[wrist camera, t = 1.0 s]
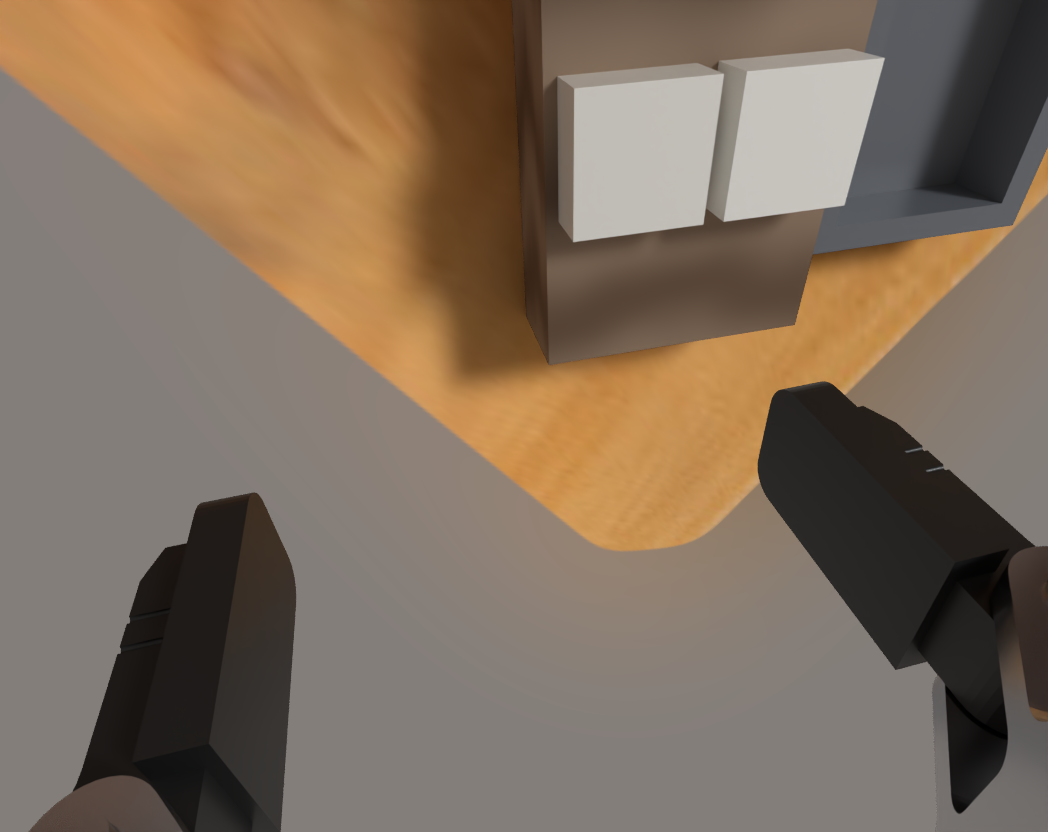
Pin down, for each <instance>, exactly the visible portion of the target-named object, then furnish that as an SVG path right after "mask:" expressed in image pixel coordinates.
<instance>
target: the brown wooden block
mask: <svg viewBox="0 0 1048 832" xmlns="http://www.w3.org/2000/svg"><path fill="white" fill-rule="evenodd" d="M877 1H878V0H512V15H513V37H514V59H515V80H516V102H517V124H518V146H519V168H520V190H521V212H522V233H523V255H524V277H525V299H526V317H527V319H528V321H529V323H530V326H531V328H532V330H533V332H534V334H535V336H536V338H537V341H538V343H539V345H540V347H541V349H542V351H543V353H544V355H545V358H546V360H547V362H548V364H549V365H553V364H559V363H565V362H571V361H577V360H583V359H589V358H595V357H602V356H608V355H614V354H620V353H626V352H632V351H638V350H644V349H650V348H656V347H663V346H669V345H675V344H681V343H687V342H693V341H699V340H705V339H711V338H717V337H723V336H730V335H736V334H742V333H748V332H754V331H760V330H766V329H772V328H778V327H784V326H791V325H795V322H796V318H797V314H798V310H799V306H800V302H801V298H802V294H803V290H804V287H805V283H806V279H807V275H808V271H809V267H810V263H811V259H812V255H813V251H814V247H815V243H816V240H817V236H818V232H819V228H820V224H821V220H822V216H823V212H824V208H822V209H815V210H807V211H800V212H793V213H785V214H778V215H770V216H763V217H756V218H748V219H741V220H733V221H726V222H723V221H722V220H720V219H719V218H718V217H717V216H715V215H714V214H713V213H712V212H710V211H709V210H708V209H707V208H706V209H705V216H704V224H703V225H696V226H689V227H682V228H674V229H667V230H659V231H652V232H645V233H637V234H630V235H623V236H615V237H608V238H600V239H593V240H586V241H578V242H573V241H572V240H571V238H570V237H569V235H568V234H567V233H566V231H565V230H564V229H563V227H562V226H561V224H560V223H559V210H558V97H557V76H564V75H575V74H586V73H596V72H607V71H617V70H628V69H638V68H649V67H659V66H670V65H680V64H691V63H699V64H701V65H704V66H706V67H709V68H711V69H714V70H716V71H718V63H719V61H723V60H733V59H744V58H754V57H765V56H775V55H786V54H796V53H807V52H818V51H828V50H839V49H852V50H856V51H860V52H865V48H866V44H867V40H868V36H869V32H870V28H871V24H872V20H873V16H874V12H875V9H876V5H877Z"/></svg>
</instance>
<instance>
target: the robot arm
mask: <svg viewBox="0 0 1048 832" xmlns="http://www.w3.org/2000/svg"><path fill="white" fill-rule="evenodd" d="M758 475H759V479H760V483H761V486H762V489H763V491H764V493H765V495H766V496H767V498H768V499H769V501H770V502H771V503H772V505H773V506H774V507H775V509H776V510H777V512H778V513H779V514H780V516H781V517H782V518H783V520H784V521H785V522H786V524H787V525H788V526H789V528H790V529H791V530H792V531H793V533H794V534H795V535H796V537H797V538H798V540H799V541H800V542H801V544H802V545H803V546H804V548H805V549H806V550H807V552H808V553H809V554H810V556H811V557H812V558H813V560H814V561H815V562H816V564H817V565H818V566H819V568H820V569H821V570H822V572H823V573H824V574H825V576H826V577H827V578H828V580H829V581H830V583H831V584H832V585H833V586H834V588H835V589H836V591H837V592H838V593H839V595H840V596H841V597H842V599H843V600H844V601H845V603H846V604H847V605H848V607H849V608H850V609H851V611H852V612H853V613H854V615H855V616H856V617H857V619H858V620H859V621H860V623H861V624H862V625H863V627H864V628H865V629H866V631H867V632H868V633H869V635H870V636H871V638H872V639H873V640H874V642H875V643H876V644H877V645H878V647H879V648H880V650H881V651H882V652H883V654H884V655H885V656H886V657H887V659H888V660H889V662H890V663H891V664H892V666H893V667H894V668H895V670H897V669H901V668H905V667H908V666H912V665H916V664H920V663H923V662H928V663H929V664H930V666H931V667H932V668H933V670H934V671H935V672H936V673H937V677H936V678H935V680H934V683H933V688H932V699H933V724H934V751H935V774H936V802H937V822H936V830H935V832H1048V546H1034V545H1033V544H1032V543H1031V542H1030V541H1028V540H1027V539H1026V538H1025V537H1024V536H1023V535H1022V534H1020V533H1019V532H1018V531H1017V530H1016V529H1015V528H1014V527H1013V526H1011V525H1010V524H1009V523H1008V522H1007V521H1006V520H1005V519H1004V518H1002V517H1001V516H1000V515H999V514H998V513H997V512H996V511H995V510H993V509H992V508H991V507H990V506H989V505H988V504H987V503H986V502H984V501H983V500H982V499H981V498H980V497H979V496H978V495H977V494H976V493H974V492H973V491H972V490H971V489H970V488H969V487H968V486H967V485H965V484H964V483H963V482H962V481H961V480H960V479H959V478H958V477H957V476H955V475H954V474H953V473H952V472H951V471H950V470H944V468H943V464H942V463H941V462H940V461H939V460H938V459H936V458H935V457H934V456H933V455H932V454H931V453H929V451H923V449H922V445H920V444H919V443H918V442H917V441H916V440H915V439H914V438H913V437H911V435H910V434H908V433H907V432H906V431H905V430H904V429H903V428H902V427H901V426H899V425H898V424H897V423H895V422H893V421H892V420H889V419H888V418H886V417H884V416H882V415H880V414H878V413H876V412H874V411H872V410H870V409H868V408H866V407H864V406H861V407H857V406H856V405H855V404H853V403H852V402H851V401H850V400H849V399H848V398H847V397H846V396H845V395H844V394H843V393H842V392H841V391H840V390H838V389H837V388H836V387H835V386H834V385H833V384H831V383H829V382H817V383H812V384H807V385H802V386H797V387H792V388H787V389H782V390H779V391H777V392H776V393H775V394H774V396H773V398H772V400H771V404H770V409H769V413H768V418H767V422H766V427H765V431H764V436H763V440H762V445H761V449H760V454H759V459H758ZM295 611H296V586H295V578H294V573H293V569H292V565H291V562H290V559H289V557H288V555H287V553H286V550H285V548H284V546H283V544H282V542H281V540H280V537H279V535H278V533H277V531H276V529H275V526H274V524H273V522H272V520H271V518H270V515H269V513H268V511H267V509H266V507H265V505H264V503H263V500H262V499H261V497H260V496H259V495H258V494H257V493H249V494H244V495H239V496H234V497H229V498H224V499H219V500H214V501H209V502H203V503H201V504H199V505H198V506H197V508H196V510H195V514H194V517H193V521H192V525H191V529H190V533H189V537H188V541H187V543H186V544H181V545H177V546H172V547H167V548H165V549H164V550H163V552H162V553H161V554H160V556H159V557H158V558H157V560H156V561H155V562H154V564H153V565H152V566H151V567H150V569H149V570H148V571H147V573H146V574H145V576H144V577H143V578H142V580H141V581H140V583H139V586H138V590H137V593H136V596H135V599H134V603H133V606H132V609H131V612H130V616H129V617H130V623H129V624H127V625H126V628H125V632H124V635H123V638H122V641H121V645H120V648H121V654H118V655H117V657H116V661H115V664H114V667H113V671H112V674H111V677H110V680H109V683H108V687H107V690H106V693H105V696H104V700H103V703H102V706H101V710H100V713H99V716H98V719H97V722H96V726H95V729H94V732H93V735H92V738H91V742H90V745H89V748H88V752H87V755H86V758H85V761H84V764H83V768H82V771H81V773H80V776H79V779H78V781H77V784H76V786H75V788H74V790H73V792H72V793H70V794H69V795H67V796H66V797H64V798H63V799H62V800H61V801H59V802H58V803H56V804H55V805H54V806H53V807H52V808H51V809H50V810H49V811H47V812H46V813H45V814H44V815H43V816H42V817H41V818H40V819H39V820H38V822H37V823H36V824H35V825H34V826H33V827H32V828H31V829H30V831H29V832H280V830H281V817H282V802H283V787H284V773H285V757H286V743H287V728H288V713H289V698H290V683H291V668H292V655H293V640H294V625H295Z"/></svg>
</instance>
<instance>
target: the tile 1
mask: <svg viewBox="0 0 1048 832" xmlns="http://www.w3.org/2000/svg"><path fill="white" fill-rule="evenodd" d="M723 78H724V73H721V72H719V71H716V70H714V69H711V68H709V67H706V66H704V65H701V64H699V63H691V64H680V65H670V66H659V67H649V68H638V69H628V70H617V71H607V72H596V73H586V74H575V75H564V76H557V97H558V210H559V223H560V224H561V226H562V227H563V229H564V230H565V231H566V233H567V234H568V235H569V237H570V238H571V240H572V241H573V242H578V241H586V240H593V239H600V238H608V237H615V236H623V235H630V234H637V233H645V232H652V231H659V230H667V229H674V228H682V227H689V226H696V225H703V224H704V216H705V209H706V202H707V195H708V187H709V180H710V173H711V166H712V158H713V151H714V144H715V136H716V129H717V122H718V115H719V107H720V100H721V93H722V85H723Z"/></svg>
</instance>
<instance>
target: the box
mask: <svg viewBox="0 0 1048 832" xmlns="http://www.w3.org/2000/svg"><path fill="white" fill-rule="evenodd" d="M864 53H868V54H872V55H875V56H879V57H883V58H885V59H884V63H883V67H882V70H881V74H880V78H879V81H878V85H877V89H876V92H875V96H874V100H873V103H872V107H871V110H870V114H869V118H868V121H867V125H866V129H865V132H864V136H863V140H862V143H861V147H860V151H859V154H858V158H857V161H856V165H855V169H854V172H853V176H852V180H851V183H850V187H849V191H848V194H847V198H846V202H845V205H844V206H837V207H830V208H824V212H823V216H822V220H821V224H820V228H819V232H818V236H817V240H816V243H815V247H814V251H813V254H819V253H826V252H833V251H840V250H847V249H853V248H860V247H867V246H874V245H881V244H888V243H894V242H901V241H908V240H915V239H922V238H928V237H935V236H942V235H949V234H956V233H962V232H969V231H976V230H983V229H990V228H997V227H1003V226H1010V225H1013V223H1014V221H1015V219H1016V217H1017V214H1018V212H1019V210H1020V208H1021V205H1022V203H1023V201H1024V199H1025V197H1026V194H1027V192H1028V190H1029V188H1030V185H1031V183H1032V181H1033V179H1034V177H1035V174H1036V172H1037V170H1038V168H1039V165H1040V163H1041V161H1042V159H1043V157H1044V154H1045V152H1046V150H1047V148H1048V0H878V1H877V5H876V9H875V12H874V16H873V20H872V24H871V28H870V32H869V36H868V40H867V44H866V48H865V52H864Z"/></svg>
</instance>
